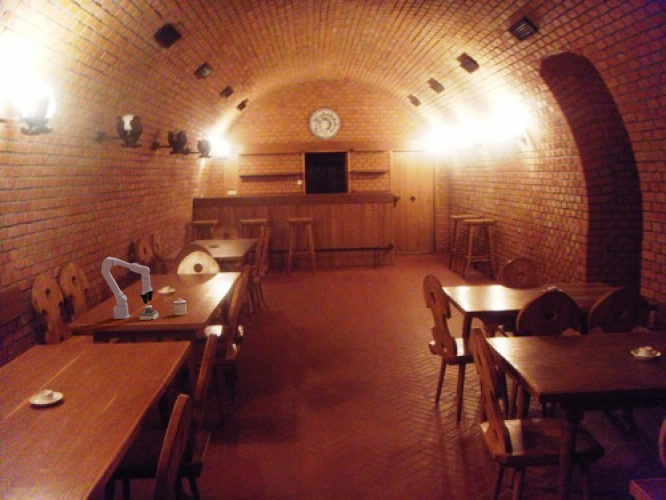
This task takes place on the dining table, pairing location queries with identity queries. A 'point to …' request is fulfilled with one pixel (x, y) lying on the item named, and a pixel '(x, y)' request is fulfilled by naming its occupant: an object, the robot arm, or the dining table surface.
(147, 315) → the grey square tray
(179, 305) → the teacup with lid
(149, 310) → the gray domed cylinder
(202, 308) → the dining table surface
